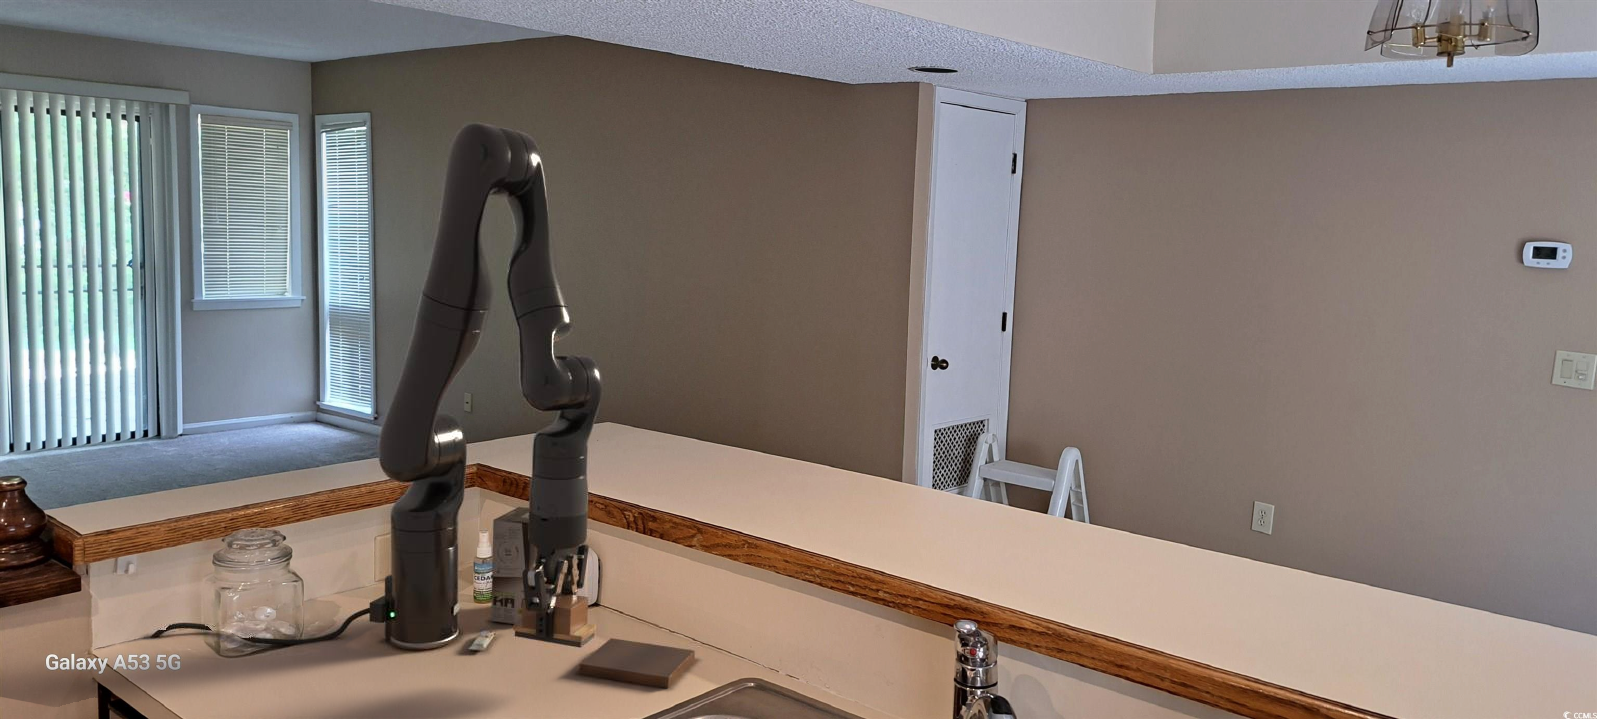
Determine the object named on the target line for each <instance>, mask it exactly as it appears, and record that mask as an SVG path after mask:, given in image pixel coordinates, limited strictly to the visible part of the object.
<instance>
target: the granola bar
mask: <svg viewBox="0 0 1597 719" xmlns="http://www.w3.org/2000/svg"><path fill="white" fill-rule="evenodd" d="M495 635H497V632H494V631H493V630H482V631H481V632H480V633H479V635H478V636H477V637H476V638H475V640H474V641H473V642H472V644H471V645H470V646H469V647H468V650H472V651H485V650H486V648H487V646H488V645H489V643H491V641H492V639H493V638H494V636H495Z"/></svg>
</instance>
